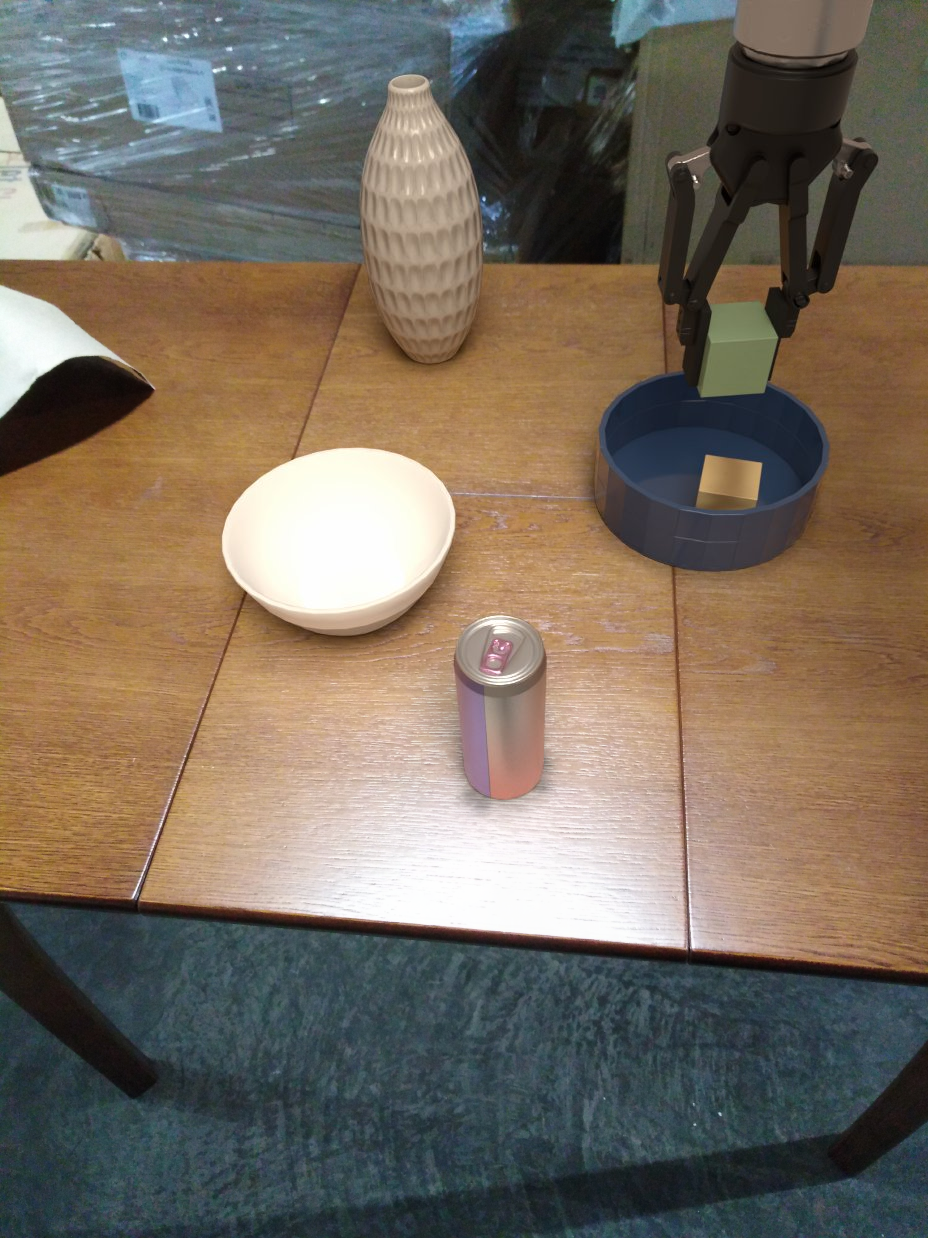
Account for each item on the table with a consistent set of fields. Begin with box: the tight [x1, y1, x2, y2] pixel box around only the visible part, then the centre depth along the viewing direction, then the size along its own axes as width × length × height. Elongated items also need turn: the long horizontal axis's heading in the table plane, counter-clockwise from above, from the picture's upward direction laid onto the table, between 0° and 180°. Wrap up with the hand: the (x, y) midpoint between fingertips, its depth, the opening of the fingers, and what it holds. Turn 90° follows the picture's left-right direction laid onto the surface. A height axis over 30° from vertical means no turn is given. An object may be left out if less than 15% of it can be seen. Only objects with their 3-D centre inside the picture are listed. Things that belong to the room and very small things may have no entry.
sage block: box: [697, 300, 778, 397], centre depth 69 cm, size 5×5×5 cm
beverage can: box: [453, 614, 548, 800], centre depth 62 cm, size 6×6×15 cm
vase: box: [358, 74, 485, 365], centre depth 93 cm, size 13×13×28 cm
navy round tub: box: [593, 369, 831, 572], centre depth 83 cm, size 20×20×7 cm
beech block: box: [695, 455, 762, 510], centre depth 81 cm, size 5×5×5 cm
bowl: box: [221, 447, 457, 637], centre depth 77 cm, size 20×20×8 cm
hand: (725, 372), depth 71 cm, fingers closed on sage block, 5 cm apart
